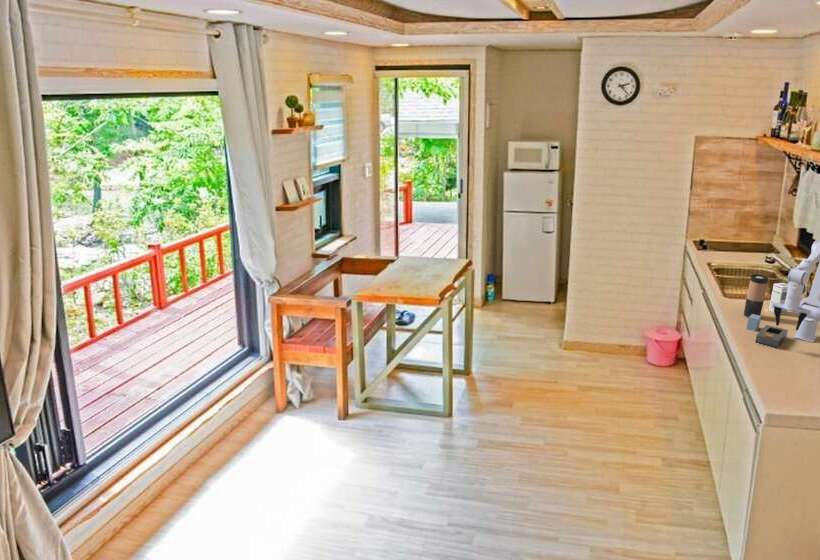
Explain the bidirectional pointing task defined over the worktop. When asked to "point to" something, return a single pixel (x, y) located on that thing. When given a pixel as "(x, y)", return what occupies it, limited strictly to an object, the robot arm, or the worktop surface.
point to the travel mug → (755, 295)
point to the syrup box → (778, 295)
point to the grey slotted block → (771, 336)
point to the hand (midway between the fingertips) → (787, 327)
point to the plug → (753, 322)
